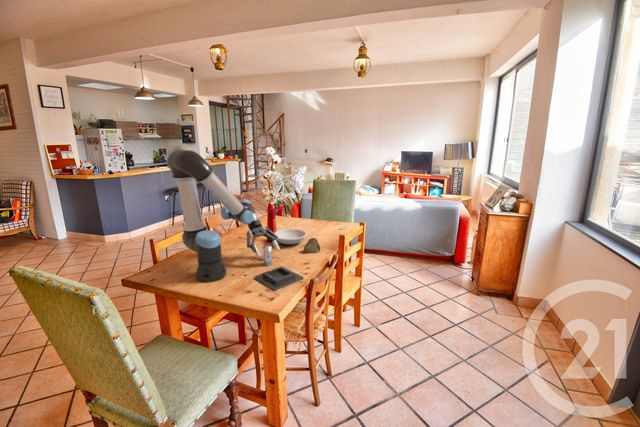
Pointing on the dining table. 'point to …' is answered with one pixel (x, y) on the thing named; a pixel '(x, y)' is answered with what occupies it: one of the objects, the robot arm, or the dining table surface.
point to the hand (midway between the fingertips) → (269, 253)
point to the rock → (312, 246)
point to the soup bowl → (290, 235)
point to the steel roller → (267, 255)
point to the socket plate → (278, 278)
